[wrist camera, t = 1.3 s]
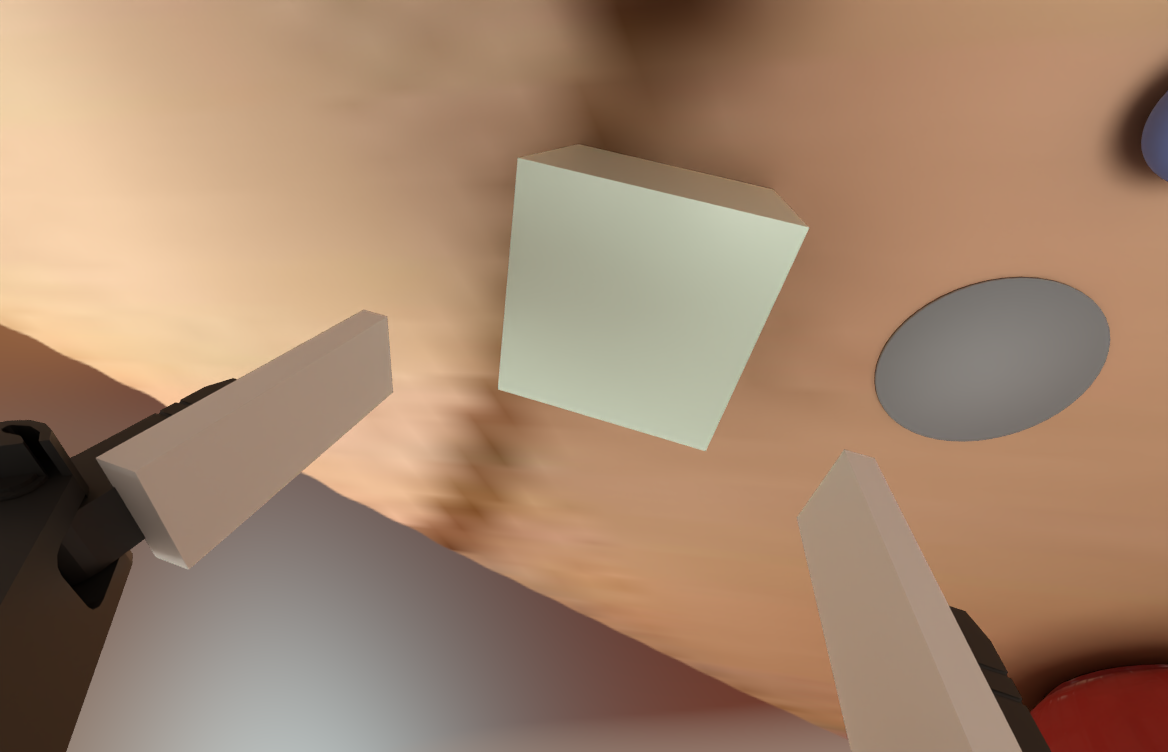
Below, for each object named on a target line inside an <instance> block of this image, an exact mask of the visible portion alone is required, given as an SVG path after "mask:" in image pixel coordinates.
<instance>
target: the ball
mask: <svg viewBox="0 0 1168 752" xmlns="http://www.w3.org/2000/svg"><path fill="white" fill-rule="evenodd" d="M1141 149H1142V153H1143V157H1144V159H1145V161H1146V163H1147V165H1148V166H1149V167H1150V169H1151V170H1152V171H1153V172H1154V173H1155V174H1157V175H1158V176H1159V177H1160V178H1162V179H1164V180H1166V181H1168V91H1167V92H1166V93H1165V94H1164V95H1163V97H1162V98H1161V99H1160V100H1159V101H1158V103H1157V104H1156V105H1155V107H1154V108H1153V110H1152V112H1151V113H1150V115H1149V117H1148V119H1147V121H1146V124H1145V126H1144V130H1143V133H1142V140H1141Z"/></svg>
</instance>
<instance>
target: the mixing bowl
mask: <svg viewBox="0 0 1168 752" xmlns="http://www.w3.org/2000/svg"><path fill="white" fill-rule="evenodd" d="M1030 714H1031V715H1032V717H1033V719H1034V721H1035V723H1036V724H1037V726H1038V728H1039V730H1040V732H1041V734H1042V735H1043V737H1044V739H1045V741H1046V743H1047V745H1048V746H1049V748H1050V750H1051V752H1168V665H1166V664H1157V665H1135V666H1125V667H1118V668H1111V669H1106V670H1100V671H1096V672H1092V673H1089V674H1085V675H1082V676H1079V677H1076V678H1074V679H1071V680H1069V681H1067V682H1063V683H1062V684H1060V685H1059V686H1057V687H1056V688H1055V689H1053V690H1052V691H1051V692H1050V693H1049V694H1048V695H1047V696H1046V697H1045V698H1044V699H1043V700H1042V701H1041V702H1040V703H1039V704H1038V705H1037V706H1036V707H1035V708H1034V709H1033V710H1032V711H1031V712H1030Z"/></svg>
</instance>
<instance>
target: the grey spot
mask: <svg viewBox="0 0 1168 752" xmlns="http://www.w3.org/2000/svg"><path fill="white" fill-rule="evenodd" d="M1109 345H1110V331H1109V326H1108V323H1107V320H1106V317H1105V316H1104V314H1103V312H1102V311H1101V309H1100V308H1099V307H1098V305H1097V304H1096V303H1095V302H1094V301H1093V300H1092V299H1090V298H1089V297H1088V296H1086V295H1085V294H1084V293H1082V292H1080V291H1078V290H1076V289H1074V288H1072V287H1070V286H1068V285H1065V284H1062V283H1059V282H1056V281H1052V280H1047V279H1041V278H1029V277H1014V278H1001V279H995V280H988V281H984V282H980V283H976V284H972V285H969V286H966V287H963V288H960V289H957V290H955V291H953V292H950V293H948V294H946V295H944V296H941V297H940V298H938V299H936V300H934V301H933V302H931V303H929V304H927V305H926V306H924V307H923V308H921V309H920V310H919V311H917V312H916V313H914V314H913V315H912V316H911V317H910V318H908V319H907V320H906V321H905V322H904V323H903V324H902V325H901V326H900V327H899V328H898V329H897V330H896V331H895V332H894V334H893V335H892V336H891V338H890V339H889V340H888V342H887V343H886V345H885V347H884V348H883V350H882V352H881V354H880V357H879V359H878V362H877V366H876V371H875V388H876V393H877V396H878V399H879V401H880V403H881V405H882V406H883V408H884V410H885V411H886V412H887V413H888V415H889V416H890V417H891V418H892V419H893V420H895V421H896V422H897V423H898V424H900V425H901V426H903V427H904V428H906V429H908V430H910V431H912V432H914V433H917V434H919V435H922V436H925V437H929V438H934V439H938V440H946V441H979V440H986V439H993V438H997V437H1002V436H1006V435H1010V434H1013V433H1016V432H1020V431H1022V430H1025V429H1028V428H1030V427H1033V426H1035V425H1037V424H1039V423H1041V422H1043V421H1045V420H1047V419H1049V418H1051V417H1052V416H1054V415H1056V414H1058V413H1059V412H1061V411H1062V410H1064V409H1065V408H1066V407H1068V406H1069V405H1071V404H1072V403H1073V402H1074V401H1075V400H1076V399H1078V398H1079V397H1080V396H1081V395H1082V394H1083V393H1084V392H1085V391H1086V390H1087V389H1088V388H1089V387H1090V385H1091V384H1092V383H1093V382H1094V380H1095V379H1096V377H1097V376H1098V375H1099V373H1100V371H1101V369H1102V367H1103V365H1104V363H1105V361H1106V358H1107V355H1108V352H1109Z"/></svg>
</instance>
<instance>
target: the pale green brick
mask: <svg viewBox="0 0 1168 752" xmlns="http://www.w3.org/2000/svg"><path fill="white" fill-rule="evenodd" d="M808 229H809V227H808V225H807V224H806V223H805V222H804V221H803V220H802V219H801V218H800V217H799V216H798V215H797V214H796V213H795V212H794V211H793V210H792V208H791V207H790V206H789V205H788V204H787V203H786V202H785V201H784V200H783V199H782V198H781V197H780V196H779V195H778V194H777V193H776V192H775V190H774V189H770V188H766V187H762V186H757V185H753V184H749V183H744V182H740V181H736V180H731V179H727V178H723V177H719V176H714V175H710V174H706V173H701V172H697V171H693V170H688V169H684V168H680V167H676V166H671V165H667V164H663V163H658V162H654V161H650V160H645V159H641V158H637V157H632V156H628V155H624V154H620V153H615V152H611V151H607V150H602V149H598V148H594V147H589V146H585V145H581V144H576V145H572V146H567V147H563V148H558V149H554V150H550V151H545V152H541V153H536V154H532V155H527V156H523V157H519V158H518V160H517V172H516V183H515V195H514V207H513V219H512V230H511V242H510V254H509V265H508V277H507V289H506V300H505V312H504V324H503V335H502V347H501V359H500V370H499V382H498V389H499V390H502V391H506V392H509V393H512V394H516V395H519V396H522V397H526V398H529V399H532V400H536V401H539V402H542V403H546V404H549V405H553V406H556V407H559V408H563V409H566V410H569V411H573V412H576V413H579V414H583V415H586V416H589V417H593V418H596V419H599V420H603V421H606V422H610V423H613V424H616V425H620V426H623V427H626V428H630V429H633V430H636V431H640V432H643V433H646V434H650V435H653V436H656V437H660V438H663V439H666V440H670V441H673V442H677V443H680V444H683V445H687V446H690V447H693V448H697V449H700V450H703V451H706V449H707V447H708V445H709V443H710V441H711V439H712V436H713V434H714V432H715V430H716V428H717V426H718V423H719V421H720V419H721V417H722V415H723V413H724V411H725V408H726V406H727V404H728V402H729V400H730V398H731V395H732V393H733V391H734V389H735V387H736V385H737V383H738V380H739V378H740V376H741V374H742V372H743V370H744V367H745V365H746V363H747V361H748V359H749V357H750V354H751V352H752V350H753V348H754V346H755V344H756V342H757V339H758V337H759V335H760V333H761V331H762V329H763V326H764V324H765V322H766V320H767V318H768V316H769V314H770V311H771V309H772V307H773V305H774V303H775V301H776V298H777V296H778V294H779V292H780V290H781V288H782V286H783V283H784V281H785V279H786V277H787V275H788V273H789V270H790V268H791V266H792V264H793V262H794V260H795V257H796V255H797V253H798V251H799V249H800V247H801V245H802V242H803V240H804V238H805V236H806V234H807V232H808Z"/></svg>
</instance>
